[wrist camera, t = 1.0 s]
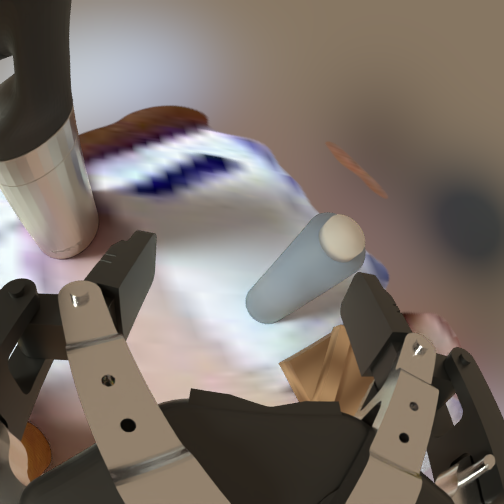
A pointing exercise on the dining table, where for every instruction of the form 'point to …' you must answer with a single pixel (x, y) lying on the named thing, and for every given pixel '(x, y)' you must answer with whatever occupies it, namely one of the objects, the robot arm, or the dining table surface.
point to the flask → (308, 267)
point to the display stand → (328, 372)
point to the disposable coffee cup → (36, 451)
